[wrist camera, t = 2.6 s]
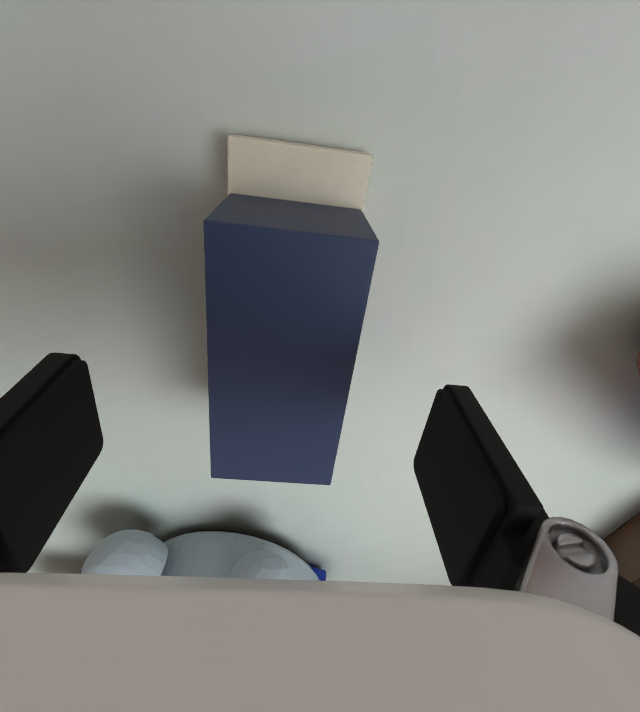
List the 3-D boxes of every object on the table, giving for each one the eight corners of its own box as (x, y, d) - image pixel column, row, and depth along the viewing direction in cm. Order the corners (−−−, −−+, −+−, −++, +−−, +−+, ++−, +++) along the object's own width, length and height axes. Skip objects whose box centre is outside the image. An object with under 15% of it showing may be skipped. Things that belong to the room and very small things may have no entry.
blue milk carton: (233, 133, 14) (196, 143, 10) (368, 152, 15) (397, 170, 10) (230, 397, 20) (208, 481, 16) (326, 404, 21) (332, 489, 16)
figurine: (383, 522, 25) (73, 457, 25) (395, 683, 18) (-47, 597, 17) (324, 646, 34) (94, 601, 33) (316, 789, 27) (21, 736, 26)
